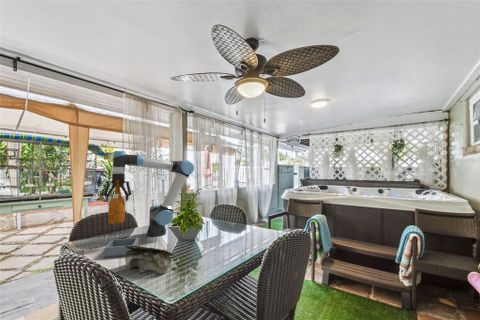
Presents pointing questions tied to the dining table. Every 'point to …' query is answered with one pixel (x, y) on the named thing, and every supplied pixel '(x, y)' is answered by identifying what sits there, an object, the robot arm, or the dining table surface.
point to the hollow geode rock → (148, 258)
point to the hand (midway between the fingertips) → (117, 205)
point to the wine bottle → (116, 207)
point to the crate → (119, 247)
